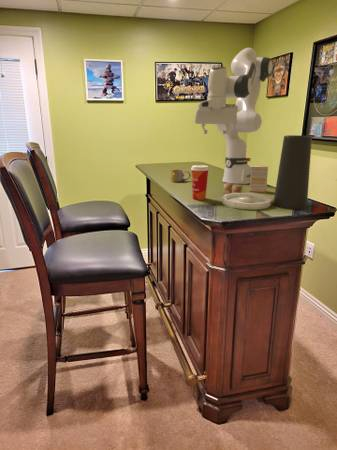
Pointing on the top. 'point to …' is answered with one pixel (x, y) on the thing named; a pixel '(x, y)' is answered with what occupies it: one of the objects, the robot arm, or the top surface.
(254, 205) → the tray
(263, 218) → the top surface
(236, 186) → the brown egg
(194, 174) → the coffee cup
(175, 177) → the mug
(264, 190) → the supplement box
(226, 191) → the tan egg
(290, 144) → the vase
